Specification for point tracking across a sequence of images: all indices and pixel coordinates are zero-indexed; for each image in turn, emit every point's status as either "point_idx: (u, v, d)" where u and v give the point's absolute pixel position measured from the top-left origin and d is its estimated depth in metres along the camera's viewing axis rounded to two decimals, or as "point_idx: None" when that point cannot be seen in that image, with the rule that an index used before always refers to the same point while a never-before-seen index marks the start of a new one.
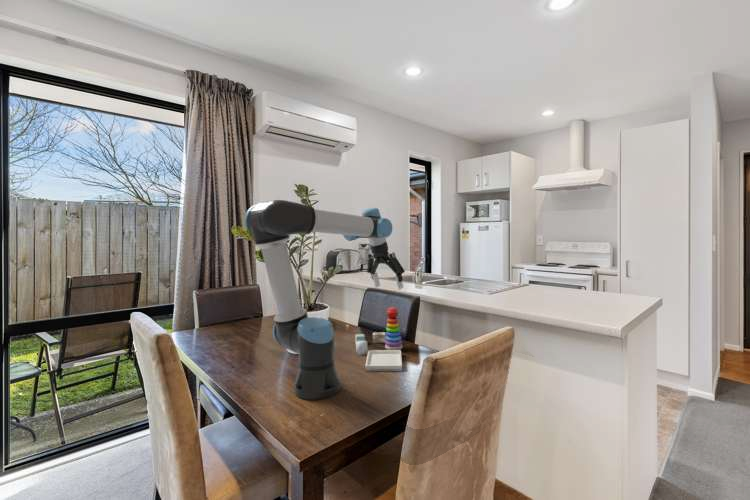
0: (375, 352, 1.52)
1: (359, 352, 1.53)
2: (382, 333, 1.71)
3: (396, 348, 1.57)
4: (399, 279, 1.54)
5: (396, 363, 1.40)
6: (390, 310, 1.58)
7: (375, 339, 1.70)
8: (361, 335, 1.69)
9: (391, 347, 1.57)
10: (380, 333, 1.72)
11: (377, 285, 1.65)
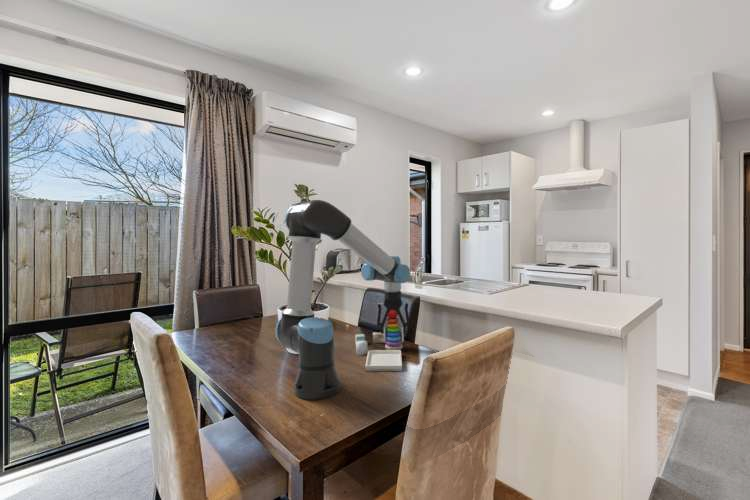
0: (375, 352, 1.52)
1: (359, 352, 1.53)
2: None
3: (396, 348, 1.57)
4: (404, 331, 1.59)
5: (396, 363, 1.40)
6: (390, 310, 1.58)
7: (375, 339, 1.70)
8: (361, 335, 1.69)
9: (391, 347, 1.57)
10: (380, 333, 1.72)
11: (385, 339, 1.60)
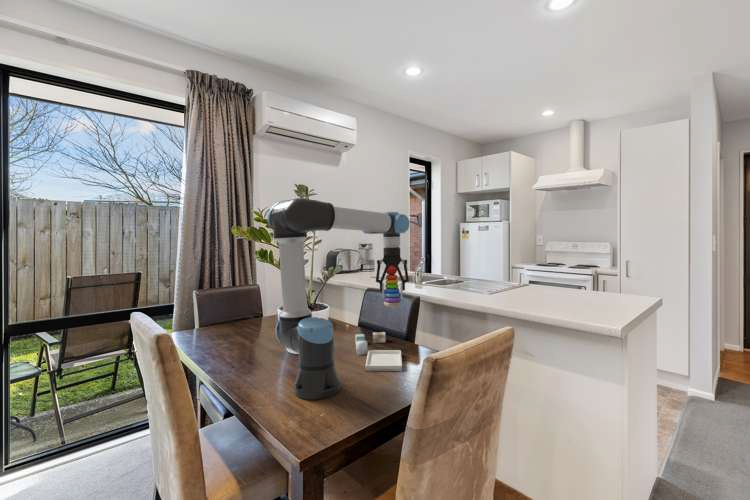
0: (375, 352, 1.52)
1: (359, 352, 1.53)
2: (382, 333, 1.71)
3: (395, 304, 1.55)
4: (403, 287, 1.58)
5: (396, 363, 1.40)
6: (389, 266, 1.57)
7: (375, 339, 1.70)
8: (361, 335, 1.69)
9: (390, 303, 1.56)
10: (380, 333, 1.72)
11: None
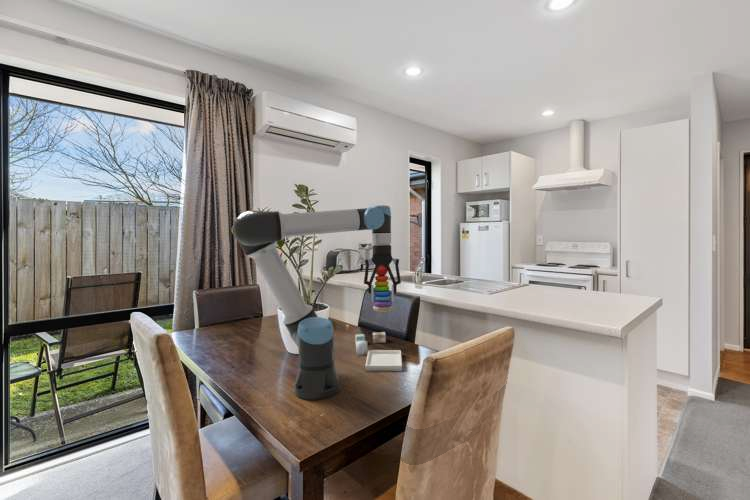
0: (375, 352, 1.52)
1: (359, 352, 1.53)
2: (382, 333, 1.71)
3: (385, 308, 1.39)
4: (395, 290, 1.41)
5: (396, 363, 1.40)
6: (378, 266, 1.40)
7: (376, 339, 1.70)
8: (361, 335, 1.69)
9: (380, 307, 1.39)
10: (380, 333, 1.72)
11: (373, 299, 1.42)
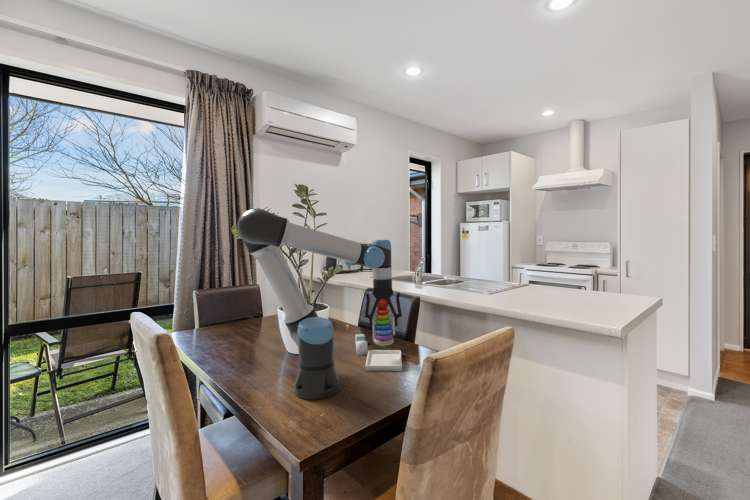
0: (375, 352, 1.52)
1: (359, 352, 1.53)
2: None
3: (386, 342, 1.39)
4: (396, 323, 1.42)
5: (396, 363, 1.40)
6: (379, 300, 1.41)
7: None
8: (361, 335, 1.69)
9: (381, 341, 1.40)
10: None
11: (374, 332, 1.43)
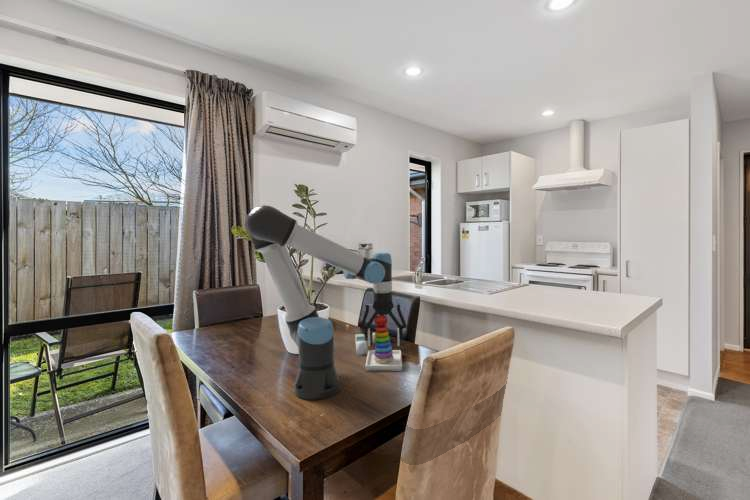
0: None
1: (359, 352, 1.53)
2: None
3: (386, 360, 1.40)
4: (400, 334, 1.42)
5: (396, 363, 1.40)
6: (378, 318, 1.41)
7: None
8: (361, 335, 1.69)
9: (380, 359, 1.40)
10: None
11: (369, 343, 1.43)
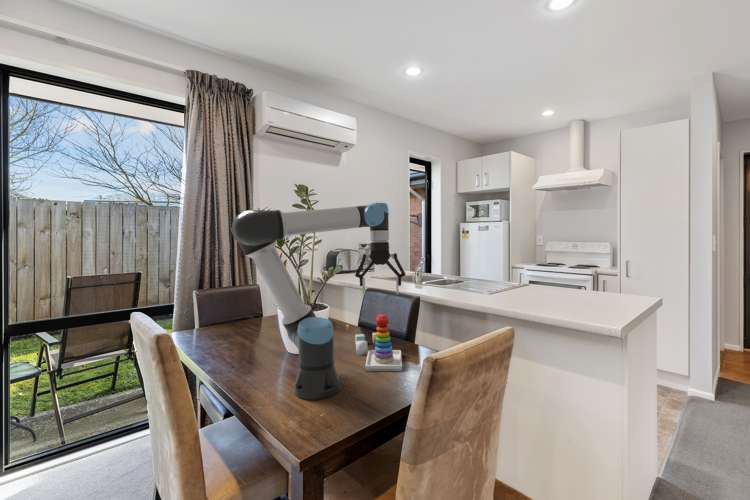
0: None
1: (359, 352, 1.53)
2: None
3: (386, 360, 1.40)
4: (399, 282, 1.42)
5: (396, 363, 1.40)
6: (379, 318, 1.41)
7: None
8: (361, 335, 1.69)
9: (381, 359, 1.40)
10: None
11: (364, 292, 1.43)
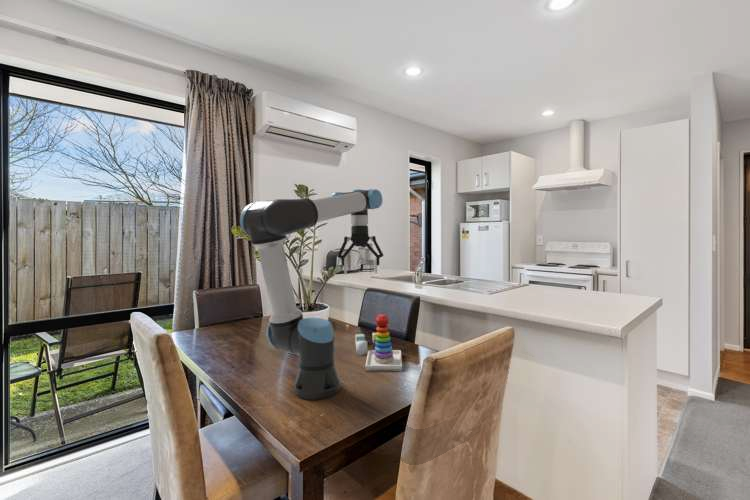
0: None
1: (359, 352, 1.53)
2: None
3: (386, 360, 1.40)
4: (377, 262, 1.56)
5: (396, 363, 1.40)
6: (379, 318, 1.41)
7: None
8: (361, 335, 1.69)
9: (381, 359, 1.40)
10: None
11: (346, 271, 1.57)
